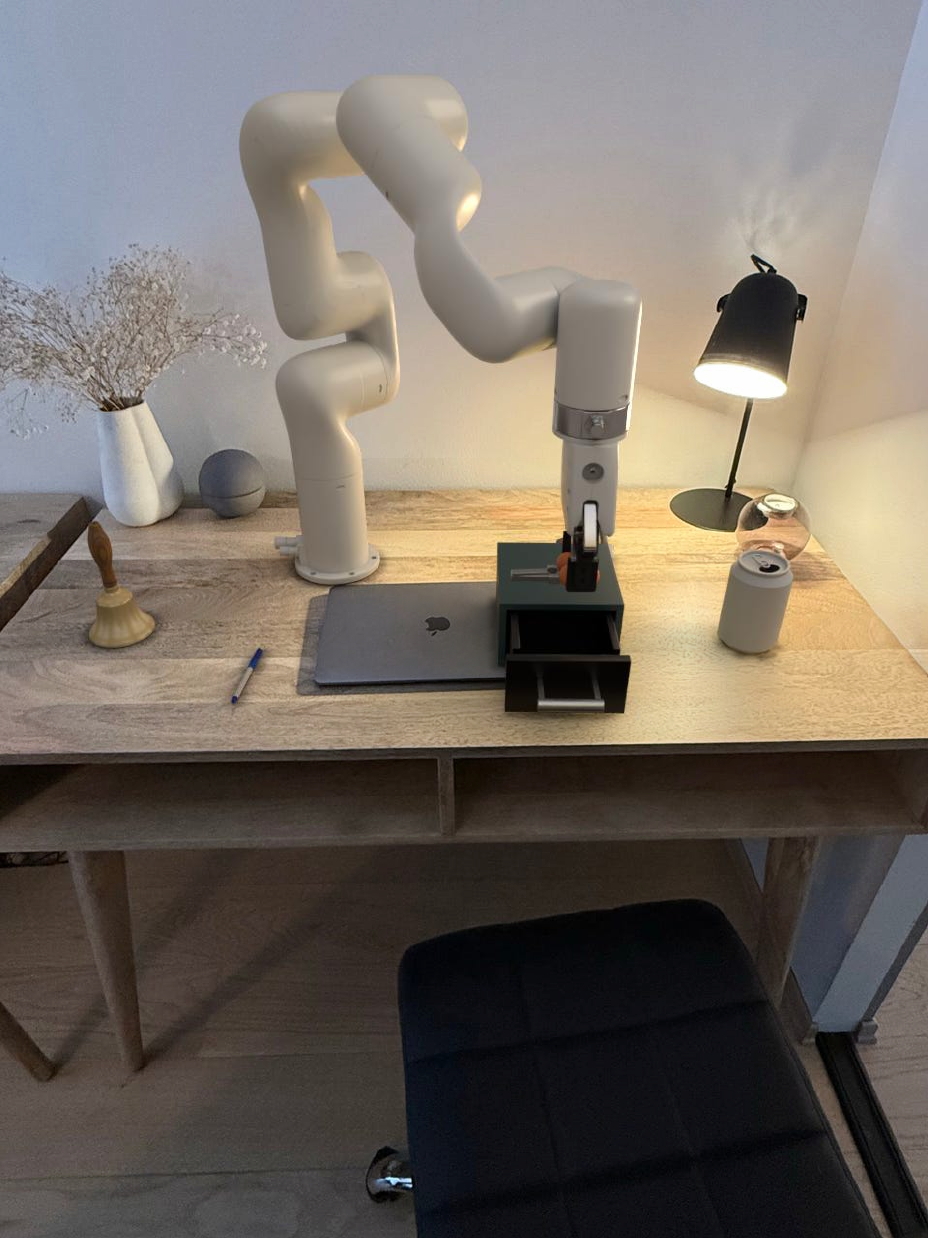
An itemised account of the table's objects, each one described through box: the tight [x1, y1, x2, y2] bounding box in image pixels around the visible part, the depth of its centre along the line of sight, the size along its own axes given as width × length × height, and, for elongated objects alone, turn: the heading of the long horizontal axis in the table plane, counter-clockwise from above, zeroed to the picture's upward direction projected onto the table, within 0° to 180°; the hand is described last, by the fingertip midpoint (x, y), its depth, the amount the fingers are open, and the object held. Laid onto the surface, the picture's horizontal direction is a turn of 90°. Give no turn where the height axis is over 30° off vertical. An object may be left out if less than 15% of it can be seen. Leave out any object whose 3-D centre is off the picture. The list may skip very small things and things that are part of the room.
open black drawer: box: [503, 610, 632, 715], centre depth 95 cm, size 19×14×7 cm
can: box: [717, 549, 794, 655], centre depth 104 cm, size 8×8×12 cm
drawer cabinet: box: [495, 541, 625, 667], centre depth 106 cm, size 15×15×9 cm
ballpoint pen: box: [230, 647, 263, 704], centre depth 100 cm, size 10×1×1 cm, turn 176°
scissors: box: [511, 552, 600, 586], centre depth 90 cm, size 10×5×2 cm, turn 89°
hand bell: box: [86, 520, 156, 649], centre depth 105 cm, size 8×8×16 cm
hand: (578, 575), depth 91 cm, fingers closed on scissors, 5 cm apart
